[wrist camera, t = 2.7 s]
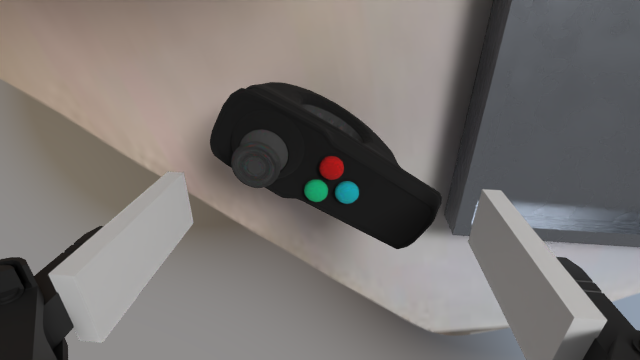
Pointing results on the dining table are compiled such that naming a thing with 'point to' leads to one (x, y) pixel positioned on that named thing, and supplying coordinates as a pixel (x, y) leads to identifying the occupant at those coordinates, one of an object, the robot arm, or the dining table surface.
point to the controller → (321, 161)
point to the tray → (556, 121)
